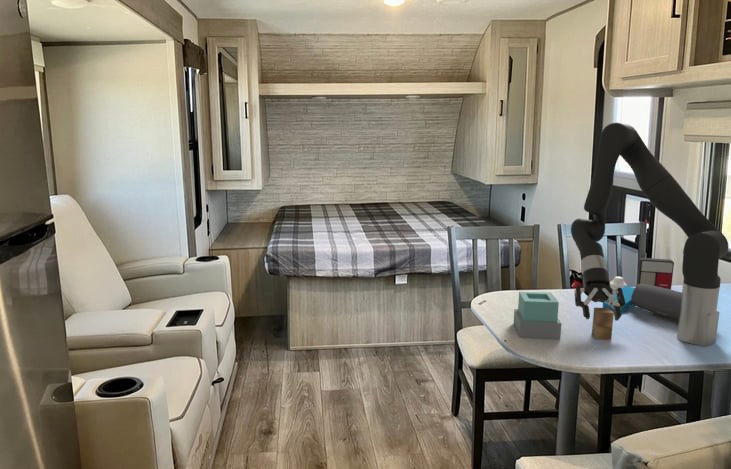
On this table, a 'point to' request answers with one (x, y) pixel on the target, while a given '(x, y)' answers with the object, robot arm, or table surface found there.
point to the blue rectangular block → (627, 296)
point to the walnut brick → (602, 323)
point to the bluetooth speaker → (658, 301)
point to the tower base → (536, 328)
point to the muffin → (617, 283)
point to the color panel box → (655, 272)
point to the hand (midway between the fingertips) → (602, 318)
